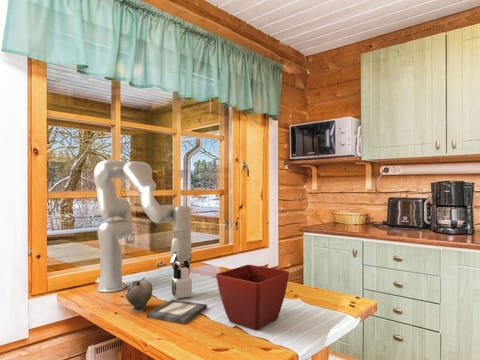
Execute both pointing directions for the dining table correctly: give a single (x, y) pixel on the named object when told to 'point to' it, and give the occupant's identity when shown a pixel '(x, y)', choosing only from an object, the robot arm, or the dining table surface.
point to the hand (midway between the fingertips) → (181, 276)
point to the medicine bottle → (182, 284)
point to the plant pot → (252, 294)
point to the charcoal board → (177, 311)
